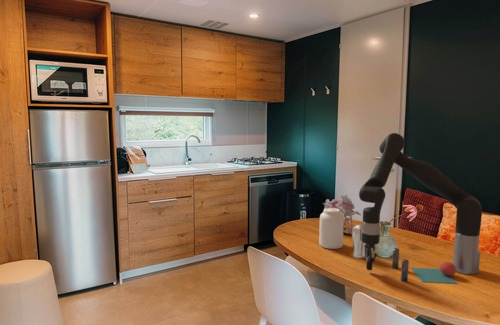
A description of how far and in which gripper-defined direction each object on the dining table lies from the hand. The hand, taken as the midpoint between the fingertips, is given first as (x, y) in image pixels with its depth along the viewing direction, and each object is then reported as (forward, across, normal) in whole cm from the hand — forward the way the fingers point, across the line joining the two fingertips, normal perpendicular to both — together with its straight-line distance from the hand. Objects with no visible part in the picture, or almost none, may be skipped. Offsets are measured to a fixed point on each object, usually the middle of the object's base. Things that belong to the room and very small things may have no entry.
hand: (369, 269), depth 157 cm
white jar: (+2, +33, +13) cm, 36 cm away
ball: (-2, +1, -33) cm, 33 cm away
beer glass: (+2, +19, +1) cm, 19 cm away
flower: (+2, +60, +4) cm, 60 cm away
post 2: (+2, -6, -13) cm, 15 cm away
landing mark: (+2, 0, -27) cm, 27 cm away
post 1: (+2, +6, -13) cm, 15 cm away
